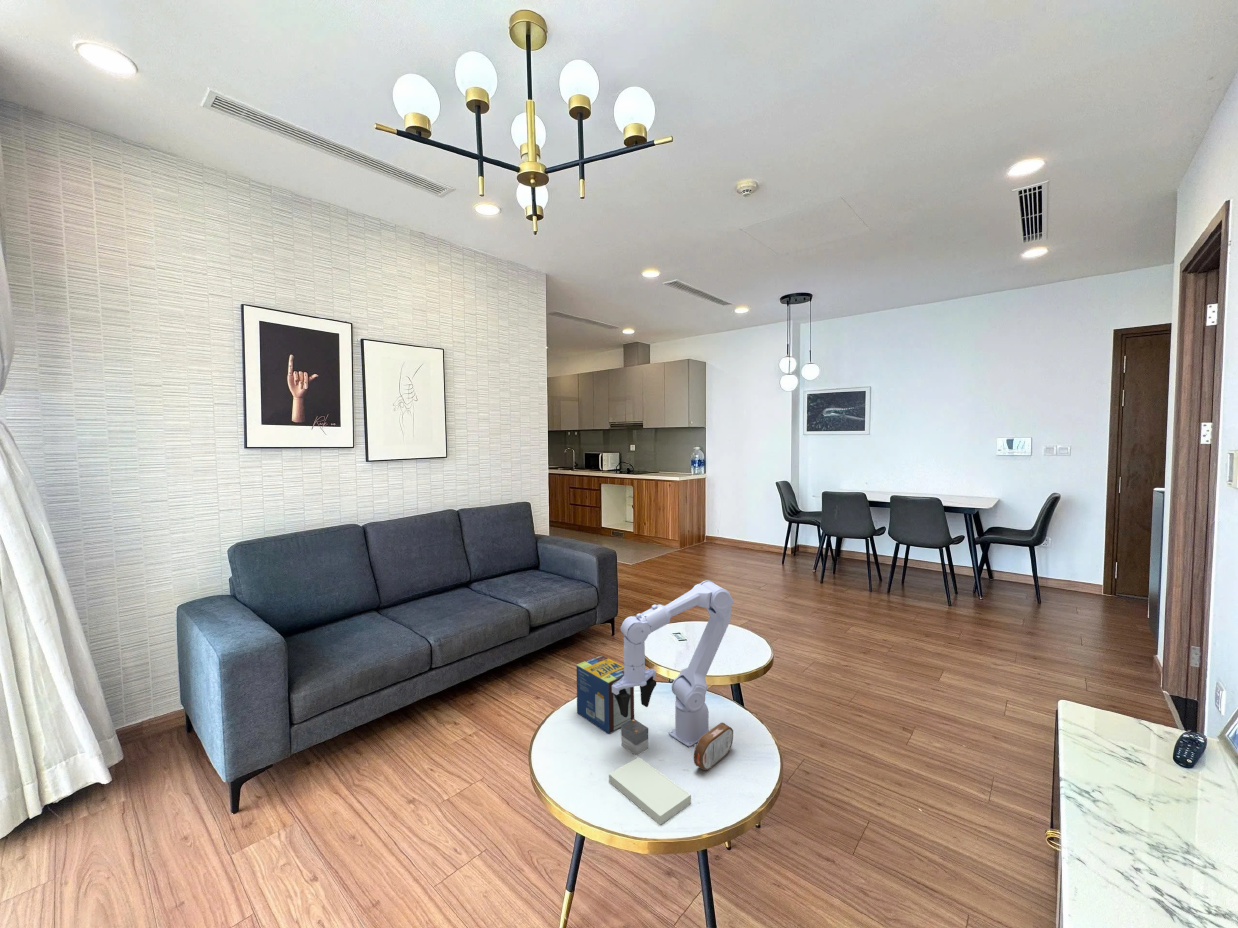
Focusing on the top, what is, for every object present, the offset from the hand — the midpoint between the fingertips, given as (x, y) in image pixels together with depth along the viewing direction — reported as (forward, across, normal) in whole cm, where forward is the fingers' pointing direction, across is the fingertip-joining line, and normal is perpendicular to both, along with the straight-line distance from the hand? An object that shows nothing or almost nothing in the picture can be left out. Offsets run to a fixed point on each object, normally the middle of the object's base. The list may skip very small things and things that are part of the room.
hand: (634, 710), depth 136 cm
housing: (+10, 0, 0) cm, 10 cm away
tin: (+11, +12, -18) cm, 24 cm away
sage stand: (+10, -9, -15) cm, 20 cm away
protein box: (+11, +3, +17) cm, 20 cm away
